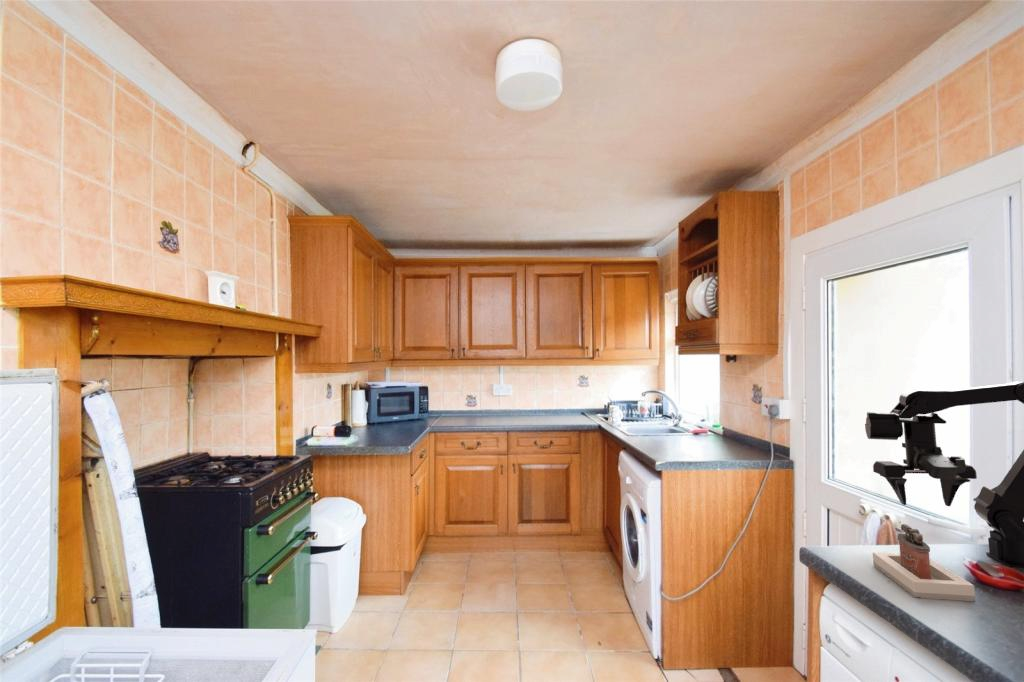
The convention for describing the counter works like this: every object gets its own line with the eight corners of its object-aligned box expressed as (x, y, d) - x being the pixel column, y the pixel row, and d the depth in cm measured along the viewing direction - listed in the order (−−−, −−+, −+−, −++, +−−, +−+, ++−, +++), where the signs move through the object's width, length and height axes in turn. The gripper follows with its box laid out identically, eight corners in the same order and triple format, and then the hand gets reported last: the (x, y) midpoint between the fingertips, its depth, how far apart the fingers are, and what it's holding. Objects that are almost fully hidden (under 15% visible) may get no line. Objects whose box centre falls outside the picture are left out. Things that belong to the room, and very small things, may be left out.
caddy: (924, 568, 100) (923, 554, 100) (975, 601, 86) (973, 585, 86) (873, 565, 102) (872, 552, 102) (915, 597, 88) (913, 581, 88)
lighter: (938, 586, 90) (933, 536, 90) (917, 585, 91) (913, 535, 91) (914, 568, 98) (910, 522, 98) (895, 567, 98) (892, 521, 99)
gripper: (897, 447, 103) (902, 515, 103) (993, 447, 100) (1000, 518, 99) (869, 438, 114) (874, 500, 113) (955, 438, 110) (961, 502, 110)
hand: (925, 505), depth 109 cm, fingers open, 9 cm apart
